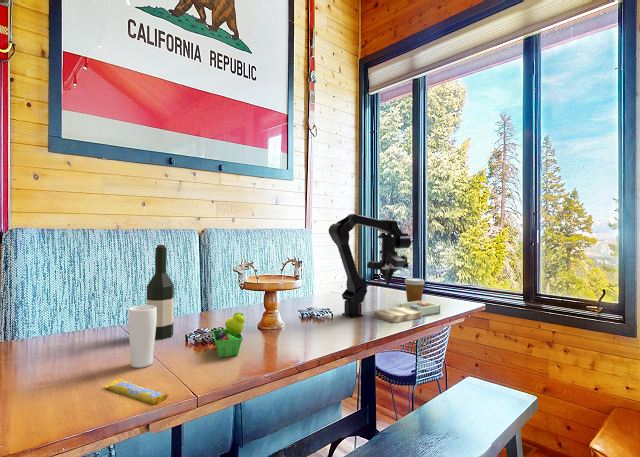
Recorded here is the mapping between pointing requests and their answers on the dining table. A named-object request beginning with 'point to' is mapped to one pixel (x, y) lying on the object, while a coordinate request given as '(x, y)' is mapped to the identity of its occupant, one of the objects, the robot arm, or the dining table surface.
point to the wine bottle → (161, 295)
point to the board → (398, 314)
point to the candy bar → (136, 391)
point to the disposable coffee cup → (414, 289)
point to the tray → (425, 310)
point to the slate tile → (415, 307)
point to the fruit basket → (230, 336)
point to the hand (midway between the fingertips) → (387, 284)
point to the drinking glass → (142, 334)
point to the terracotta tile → (423, 304)
